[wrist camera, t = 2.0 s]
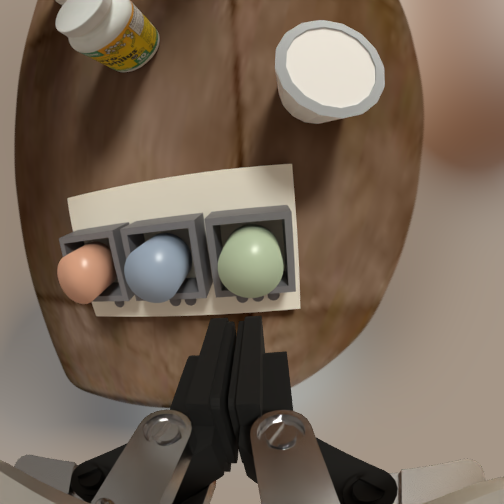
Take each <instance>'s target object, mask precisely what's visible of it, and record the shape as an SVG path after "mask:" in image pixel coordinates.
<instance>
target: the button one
mask: <svg viewBox="0 0 504 504" xmlns="http://www.w3.org/2000/svg"><path fill="white" fill-rule="evenodd" d="M57 273H58V280H59V283H60V285H61V287H62V289H63V291H64V292H65V294H66V295H67V296H68V297H69V298H70V299H72V300H73V301H75V302H77V303H80V304H88V303H90V302H92V301H93V300H94V299H95V298H96V297H97V296H99V295H100V294H101V293H102V292H103V291H104V290H105V289H106V288H107V287H108V286H110V285H111V284H112V283H113V282H114V281H115V279H116V277H117V274H116V270H115V266H114V261H113V257H112V253H111V249H110V248H109V247H108V246H106V245H105V244H103V243H101V242H97V241H93V242H90V243H88V244H86V245H84V246H82V247H80V248H78V249H77V250H75V251H73V252H71V253H69V254H68V255H66V256H64V257H63V258H62V259H61V260H60V262H59V265H58V270H57Z"/></svg>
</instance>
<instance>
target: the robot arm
mask: <svg viewBox="0 0 504 504" xmlns="http://www.w3.org/2000/svg"><path fill="white" fill-rule="evenodd" d="M55 1H56V2H57V3H59V4H60V5H62V6H63V5H64V3H65V2H66V1H67V0H55ZM238 449H239V452H240V456H241V459H242V463H244V467H245V470H246V474H247V476H248V477H249V478H251V479H252V480H253V481H254V482H256V483H257V484H258V487H259V493H260V499H261V504H504V477H500V478H495V479H491V480H487V481H485V475H484V471H483V469H482V466H481V465H480V464H479V463H478V462H477V461H475V460H471V459H462V460H457V461H452V462H447V463H442V464H437V465H431V466H425V467H418V468H412V469H402V470H401V471H400V473H387V472H386V471H384V470H382V469H379V468H377V467H375V466H372V465H370V464H368V463H366V462H364V461H362V460H359V459H357V458H355V457H353V456H351V455H349V454H346V453H345V452H343V451H341V450H339V449H337V448H335V447H333V446H331V445H329V444H327V443H325V442H323V441H322V440H320V439H318V438H316V437H315V435H314V432H313V429H312V426H311V424H310V423H309V421H308V420H307V418H305V417H304V416H303V415H302V414H299V413H297V412H294V411H293V406H292V396H291V387H290V377H289V368H288V359H287V352H274V353H265V347H264V337H263V326H262V317H261V316H249V317H245V321H239V324H238V331H237V337H236V330H235V324H234V322H229V321H228V318H212V319H211V320H210V323H209V326H208V329H207V333H206V336H205V339H204V342H203V345H202V349H201V352H200V355H199V356H189V357H188V359H187V362H186V365H185V368H184V370H183V373H182V376H181V379H180V382H179V385H178V387H177V390H176V393H175V396H174V399H173V402H172V405H171V408H170V410H161V411H156V412H154V413H151V414H150V415H148V416H147V417H145V418H144V419H143V421H142V422H141V423H140V424H139V426H138V428H137V429H136V431H135V432H134V434H133V436H132V437H131V439H130V440H129V442H128V443H127V444H125V445H123V446H121V447H118V448H116V449H114V450H112V451H109V452H107V453H105V454H103V455H100V456H98V457H95V458H93V459H90V460H88V461H85V462H84V463H82V464H80V465H76V463H75V462H69V461H62V460H56V459H50V458H44V457H39V456H34V455H25V456H22V457H21V458H20V459H18V461H17V462H16V464H15V466H14V467H13V466H11V465H10V464H8V463H6V462H3V461H1V460H0V504H210V501H211V498H212V496H213V492H214V490H215V486H216V480H217V479H219V478H220V477H222V476H223V475H224V471H226V472H230V470H231V463H237V460H238Z"/></svg>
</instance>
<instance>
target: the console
mask: <svg viewBox="0 0 504 504" xmlns="http://www.w3.org/2000/svg"><path fill="white" fill-rule="evenodd" d="M67 200H68V206H69V212H70V218H71V223H72V228H73V232H72V233H70V234H67V235H65V236H63V237H61V238H59V242H60V246H61V251H62V255H63V257H64V256H66V255H68V254H69V253H71V252H73V251H75V250H77V249H78V248H80V247H82V246H84V245H86V244H88V243H90V242H93V241H97V242H101V243H103V244H105V245H106V246H108V247H109V248H110V249H111V253H112V257H113V261H114V266H115V270H116V274H117V277H116V279H115V281H114V282H113V283H112V284H111V285H110V286H108V287H107V288H106V289H105V290H104V291H103V292H102V293H101V294H100V295H99V296H97V297H96V298H95V299H94V300H93V301H92V305H93V308H94V311H95V314H96V316H115V317H149V316H193V315H217V314H235V313H251V312H265V311H278V310H289V309H300V284H299V260H298V241H297V224H296V208H295V194H294V182H293V170H292V164H279V165H267V166H255V167H245V168H235V169H226V170H218V171H210V172H202V173H195V174H188V175H181V176H175V177H168V178H162V179H156V180H150V181H145V182H139V183H134V184H129V185H124V186H119V187H114V188H109V189H105V190H100V191H95V192H91V193H87V194H83V195H78V196H74V197H70V198H67ZM248 224H256V225H261V226H263V227H265V228H267V229H269V230H270V231H271V232H272V233H273V234H274V235H275V237H276V238H277V240H278V242H279V246H280V251H281V256H282V260H283V275H282V278H281V280H280V282H279V284H278V285H277V286H276V288H275V289H274V290H272V291H271V292H270V293H268V294H266V295H264V296H261V297H257V298H245V297H241V296H238V295H236V294H234V293H232V292H231V291H229V290H228V289H227V288H226V287H225V286H224V284H223V283H222V281H221V279H220V277H219V274H218V260H219V257H220V254H221V252H222V250H223V248H224V245H225V243H226V241H227V239H228V237H229V236H230V234H231V233H232V232H233V231H234V230H236V229H237V228H239V227H241V226H244V225H248ZM160 233H170V234H174V235H176V236H178V237H180V238H181V239H182V240H183V241H184V242H185V243H186V244H187V246H188V247H189V249H190V251H191V255H192V267H191V270H190V272H189V273H188V275H187V276H186V278H185V280H184V281H183V283H182V284H181V286H180V287H179V289H178V291H177V292H176V294H175V295H174V296H173V297H172V298H171V299H169V300H168V301H165V302H162V303H151V302H148V301H145V300H143V299H141V298H140V297H138V296H137V295H136V294H135V293H134V292H133V291H132V290H131V289H130V287H129V286H128V284H127V281H126V278H125V274H124V266H125V262H126V259H127V257H128V256H129V254H130V253H131V252H132V251H134V250H135V249H136V248H138V247H139V246H141V245H142V244H143V243H145V242H146V241H147V240H149V239H150V238H152V237H153V236H155V235H157V234H160Z"/></svg>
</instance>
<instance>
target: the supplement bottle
mask: <svg viewBox="0 0 504 504" xmlns="http://www.w3.org/2000/svg"><path fill="white" fill-rule="evenodd" d="M55 25H56V28H57V30H58V31H59V32H61V33H62V34H64V35H66V36H67V37H68V39H69V43H70V45H71V46H72V48H73V49H75V50H76V51H78V52H80V53H82V54H84V55H86V56H88V57H90V58H92V59H94V60H96V61H98V62H100V63H102V64H104V65H106V66H108V67H110V68H112V69H114V70H116V71H118V72H130V71H134V70H136V69H138V68H140V67H142V66H143V65H144V64H146V63H147V62H148V61H149V60H150V59H151V58H152V57H153V56H154V54H155V53H156V51H157V49H158V46H159V41H160V38H159V33H158V31H157V29H156V28H155V27H154V26H153V24H152V23H151V22H150V21H149V20H148V19H147V18H146V17H145V16H144V15H143V14H142V13H141V12H140V10H139V9H138V8H137V7H136V6H135V5H134V4H133V3H132V2H131V1H130V0H67V1H66V2H65V3H64V5H63V6H62V7H61V9H60V11H59V12H58V15H57V17H56V22H55Z"/></svg>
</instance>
